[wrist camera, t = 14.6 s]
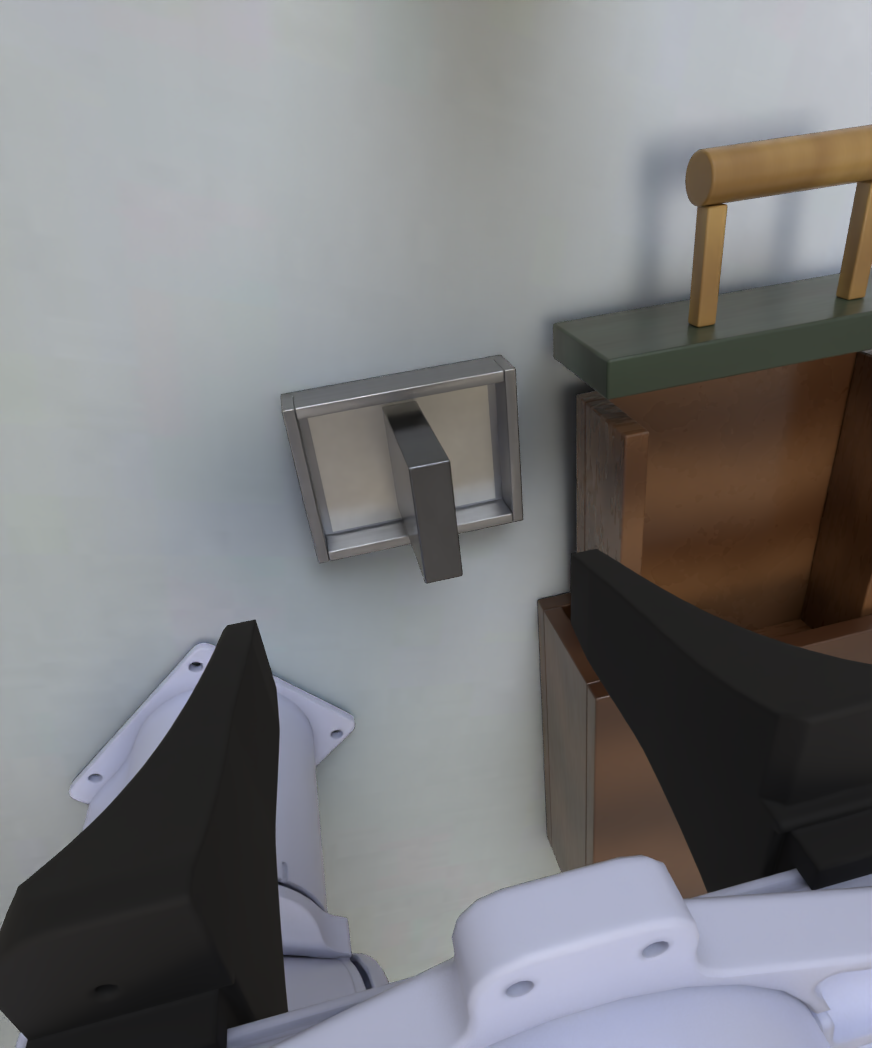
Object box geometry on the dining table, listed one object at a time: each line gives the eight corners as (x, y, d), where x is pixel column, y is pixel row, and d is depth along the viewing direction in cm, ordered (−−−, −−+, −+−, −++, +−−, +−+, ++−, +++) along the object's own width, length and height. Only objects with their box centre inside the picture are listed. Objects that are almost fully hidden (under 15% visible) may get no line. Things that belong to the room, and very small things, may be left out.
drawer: (548, 162, 20) (611, 169, 16) (921, 108, 22) (1055, 104, 18) (559, 671, 30) (599, 745, 27) (809, 610, 32) (880, 671, 28)
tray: (280, 394, 23) (285, 461, 18) (501, 354, 23) (559, 408, 19) (315, 540, 26) (327, 630, 21) (510, 500, 26) (561, 577, 22)
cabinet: (536, 599, 29) (595, 699, 24) (822, 533, 31) (934, 614, 26) (546, 836, 38) (591, 948, 33) (769, 774, 40) (845, 871, 34)
